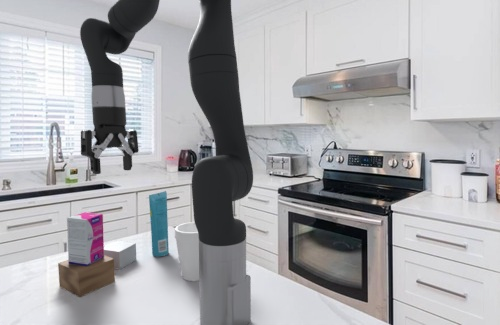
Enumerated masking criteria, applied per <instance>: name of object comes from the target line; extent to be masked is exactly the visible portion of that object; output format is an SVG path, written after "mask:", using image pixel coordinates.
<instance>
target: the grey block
mask: <svg viewBox="0 0 500 325" xmlns="http://www.w3.org/2000/svg"><path fill="white" fill-rule="evenodd" d="M104 255H105V256H108V257H111V258H113V259H114V270H122V269H123V268H125V267H127V266H128V265H130V264H131V263H133V262H134V261H136V260H137V244H136V242H128V241H123V240H122V241H121V240H115V241H113V242H110V243H109V244H106V245H104Z"/></svg>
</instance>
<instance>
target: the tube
mask: <svg viewBox="0 0 500 325" xmlns="http://www.w3.org/2000/svg"><path fill="white" fill-rule="evenodd" d="M167 197H168V196H167V191H166V190H164V191H161V192H157V193H153V194H149V195H148V199H149V200H148V202H149V216H150V219H149V221H150V230H151V231H150V233H151V253H152V256H153V257H156V258H157V257H158V258H160V257H164V256H167V255H168V254H169V252H170V251H169V250H170V249H169V229H168V227H169V226H168V225H169V222H168V221H169V220H168V198H167Z"/></svg>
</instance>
